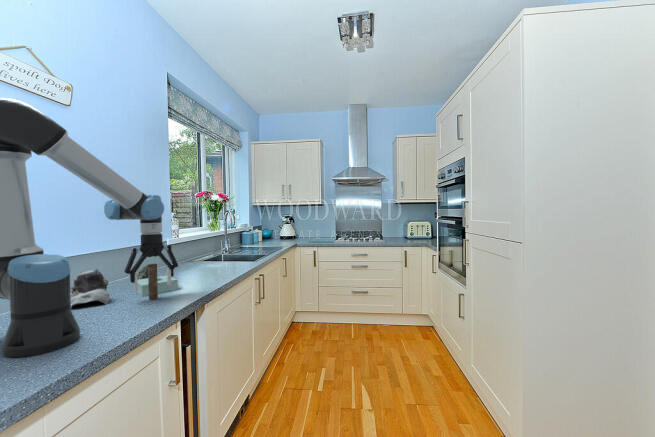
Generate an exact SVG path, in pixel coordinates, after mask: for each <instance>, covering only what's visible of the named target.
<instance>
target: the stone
mask: <svg viewBox="0 0 655 437" xmlns="http://www.w3.org/2000/svg"><path fill="white" fill-rule="evenodd" d="M101 272H102V271H100V270H99V269H92V270H91V269H90V270H86V271H83V272H80V273H79V274H77V275H76V276H75V278H74V280H73V284H72V285H71V286H70V295H71V309H72V308H73V307H75V306H77V305H81V304H86V303H91V301H92V302H97V301H98V300H99V301H98V302H101V303H103V304H105V305H107V304H109V303H110V296H111V295H110V292H108V290H107V288H108V286H109V280H108V279H107V278H106V277H105V276H104V275H103V274H102V273H101Z"/></svg>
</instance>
